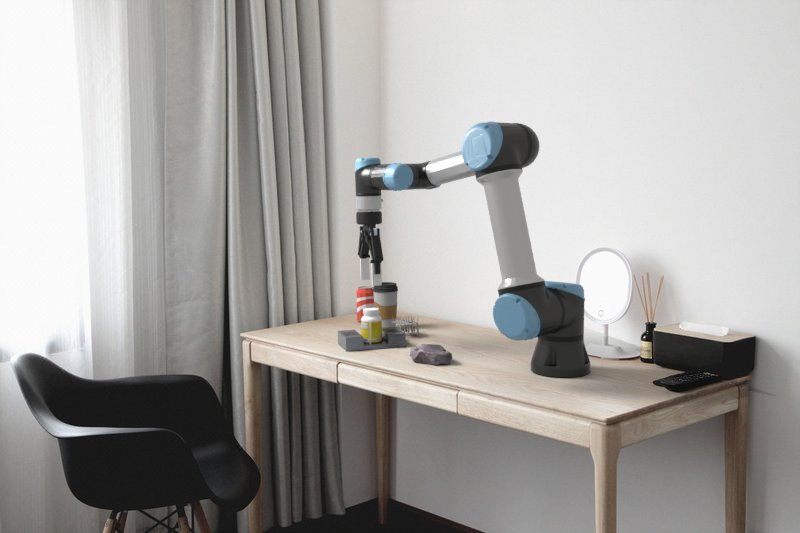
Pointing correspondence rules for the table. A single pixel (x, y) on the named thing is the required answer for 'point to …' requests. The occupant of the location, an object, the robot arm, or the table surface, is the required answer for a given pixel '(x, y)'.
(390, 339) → the grey recessed block
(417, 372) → the table surface
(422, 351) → the rock
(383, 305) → the coffee cup
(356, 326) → the table surface
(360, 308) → the beverage can
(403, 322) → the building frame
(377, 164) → the robot arm
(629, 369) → the table surface
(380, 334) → the pill bottle
